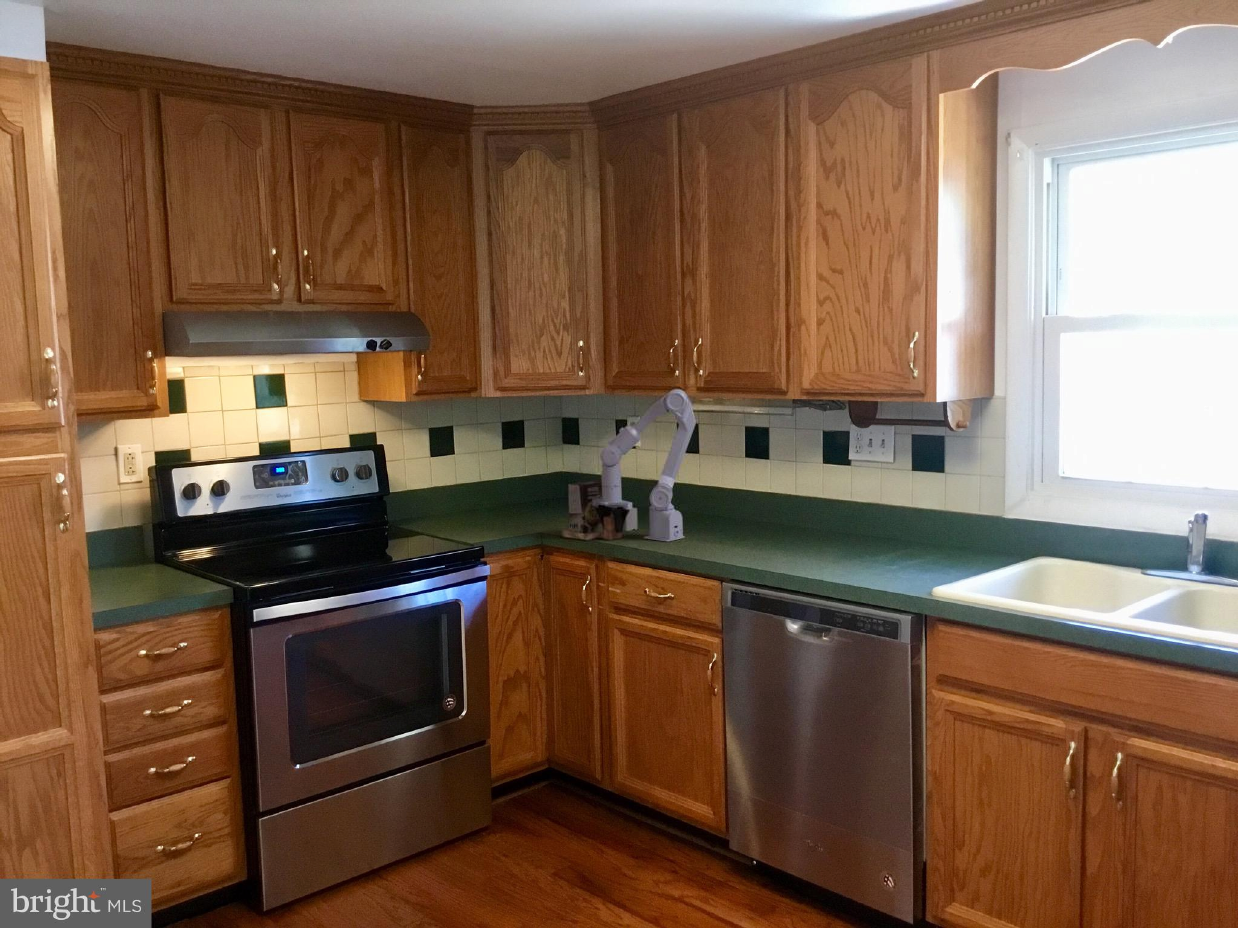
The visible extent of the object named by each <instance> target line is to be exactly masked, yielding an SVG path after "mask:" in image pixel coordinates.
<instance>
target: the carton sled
mask: <svg viewBox="0 0 1238 928" xmlns="http://www.w3.org/2000/svg"><path fill="white" fill-rule="evenodd" d="M622 533H623V531H622V532H620V533H616V530H615V520H614V516H613V515H611V516H608V517H604V531H598V532H593V533H589V534H582V533H574V532H569V528H568V529H563V530H561V537H563V538H570V539H576V540H582V541H583V540H585V541H588V540H589V541H590V540H594V539H598V538H599V539H600V538H601V539H604V540H609V541H611V540H615V539H616V540H617V539H621V538H623V536H622V535H623V534H622Z"/></svg>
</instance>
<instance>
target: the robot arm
mask: <svg viewBox="0 0 1238 928" xmlns="http://www.w3.org/2000/svg"><path fill="white" fill-rule="evenodd" d="M669 412H670V413H671V414H672V415H673V416H674V418H675V420H676V422H677V424H678V427H677V431H676V433H675V436H674V437H673V441H672V444H671V446H670V450H669V452H668V454H667V457H666V461H665V463H664V466H663V469H662V471H661V474H660V477H659V479H658V482H657V484H656V485H655V486H654V487H653V488H652V491H651V493H650V495H649V503H650V506H649V507H648V508H649V509H648V510H649V535H646V536H643V539H645V540H646V539H648V540H652V541H653V540H654V541H661V542H672V541H676V540H681V539H685V536H684V530H683V529H684V527H683V524H684V523H683V515H682V513H681V512H680V511H679V510H676V509H675V506H674V505H673V504H672V503H671V502H672V499H673V496H674V495H673V486H674V484H675V483H676V479H677V477H678V473H679V470H680V467H681V465H682V462H683V459H684V457H685V454H686V452H687V449H688V446H689V443H690V441H691V438H692V435H693V432H694V429H695V426H696V423H697V421H696V417H695V414H694V409H693V405H692V401H691V399H690V397H689V396H688V394H687V393H686V392H685V391H684V390H683V389H680V388H679V389H678V388H675V389H672V390H670V391H669V392H668V393H667V394H666V395H664V396H663V397H662V398H660V399H659V400H657V401H656V402H654V403H653V404H652V405H651V407H650V408H649V409H647V411H646V412H645V413H644V414H643V415H642V416H641V417H640V418H639V419H638V420H636V422H635V424H633V425H632V426H631V425H626V426H625V427H621V428H620V429H619V430H618V431H619V433H618V434H617V435H616V436H615V437H614V438H613V439H612V440H611V439H610V440H609V441H608V442H607V443H608V445H606V446H604V447H603V448H602V450H601V451H600V456H599V458H600V461H601V472H600V473H601V482H602V499H592V503H593V506H598V508H595V511H596V512H597V514H598V516H599V518H600V521H601V524H602V527H603V531H604V517H608V516H614V520H615V530H616V533H620V532H622V533H623V532H624V531H623V526H624V522H625V519H626V517H627V515H628V513H629V511H630V509H632V508H633V502H631V501H628V500H623V499H622V497H623V496H622V495H623V494H622V470H621V465H620V464H621V462H620V461H621V459H622V456H625V455H626V454H628V452H629V451H630V450H632V449H633V448H634V446H635V445H637V444H638V442H640V440H641V433H642V432H644V430H646V429H647V427H648V426H650V425H651V424H652V423H653V422H654V421H655V420H656V419H657V418H658V417H659V416H662V415H666V414H669ZM613 508H615V509H613Z"/></svg>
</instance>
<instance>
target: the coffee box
mask: <svg viewBox="0 0 1238 928" xmlns="http://www.w3.org/2000/svg"><path fill="white" fill-rule="evenodd" d="M567 488H568V518H569V519H568V521H569V522H568V525H569V526H568V529H569V532H574V533H582V534H589V533H593V532H598V531H603V527H602V524H601V521H600V518H599V516H598V514H597V512H596V511H595V508H598V506H593V503H592V499H602V481H583V482H576V483H575V482H574V483H568V487H567Z"/></svg>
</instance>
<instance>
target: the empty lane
mask: <svg viewBox="0 0 1238 928" xmlns="http://www.w3.org/2000/svg"><path fill="white" fill-rule="evenodd" d="M638 528H639V527H638V508H637V507H632V509H630V511H629V513H628V515H627V517H626V519H625V522H624V526H623V531H622V532H629V531H634V530H633V529H635V530H638Z"/></svg>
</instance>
